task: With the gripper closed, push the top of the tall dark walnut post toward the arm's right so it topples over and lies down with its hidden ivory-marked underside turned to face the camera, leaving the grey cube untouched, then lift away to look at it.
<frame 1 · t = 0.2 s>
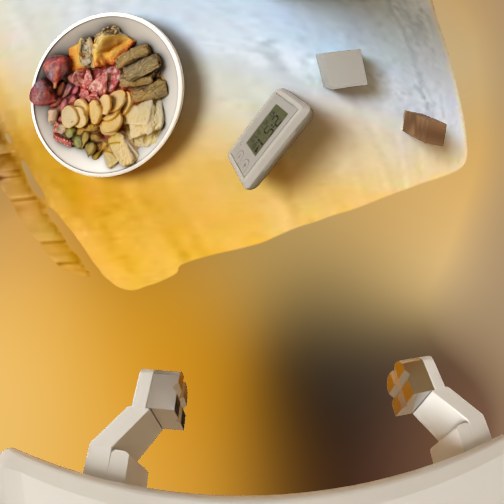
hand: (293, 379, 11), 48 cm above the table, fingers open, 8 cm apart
walnut post: (411, 121, 49), on the table
digital clock: (264, 129, 51), on the table
bowl: (108, 92, 46), on the table
grey cube: (336, 68, 44), on the table
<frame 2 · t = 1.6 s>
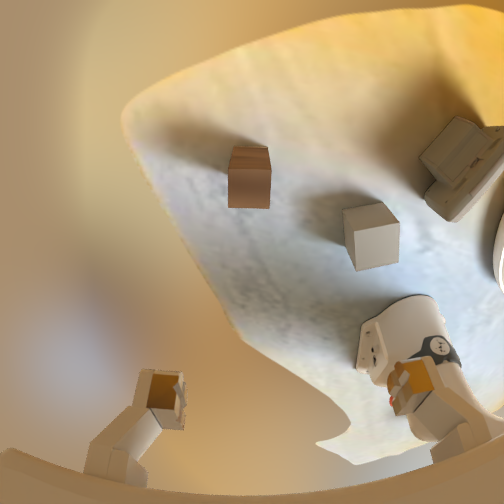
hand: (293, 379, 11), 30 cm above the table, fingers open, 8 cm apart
walnut post: (250, 162, 36), on the table
digital clock: (451, 155, 35), on the table
grey cube: (363, 224, 41), on the table
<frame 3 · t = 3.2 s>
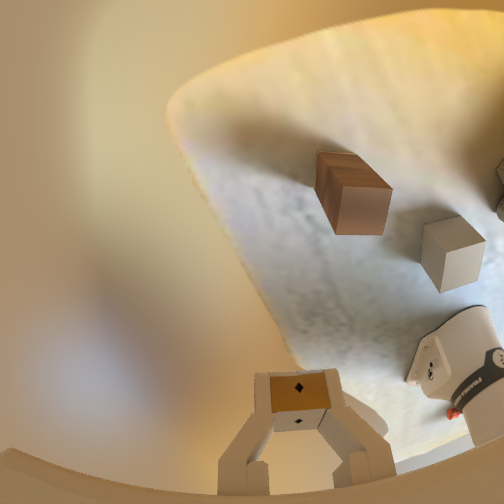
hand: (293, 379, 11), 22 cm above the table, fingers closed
walnut post: (334, 171, 29), on the table
grey cube: (440, 239, 34), on the table
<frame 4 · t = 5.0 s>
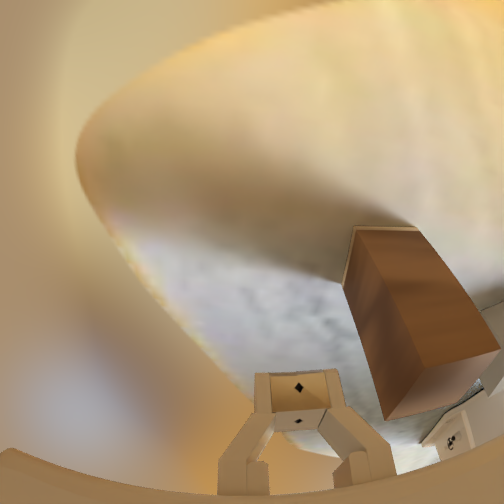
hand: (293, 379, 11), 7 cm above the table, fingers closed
walnut post: (379, 256, 17), on the table
grey cube: (495, 321, 22), on the table
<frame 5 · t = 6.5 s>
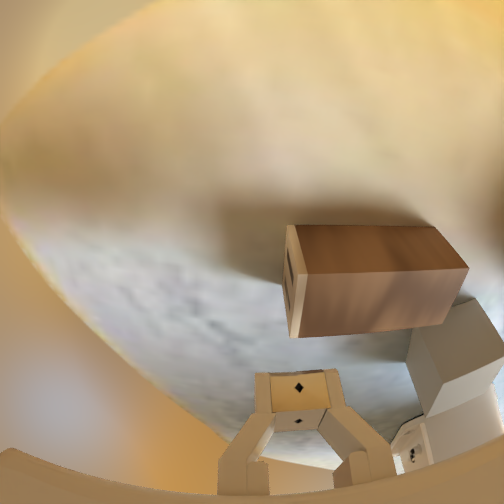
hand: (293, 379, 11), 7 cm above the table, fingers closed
walnut post: (288, 280, 15), point 2 cm above the table, tilted 90°
grey cube: (439, 332, 22), on the table
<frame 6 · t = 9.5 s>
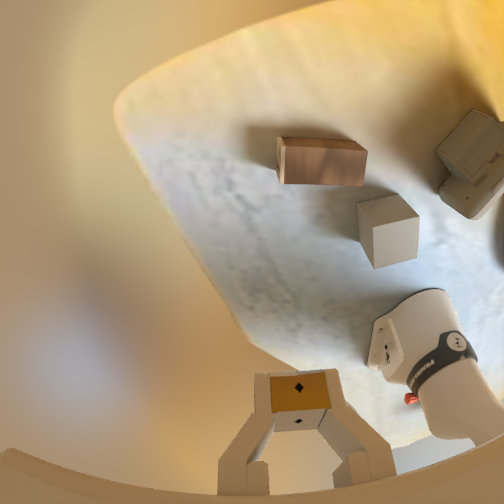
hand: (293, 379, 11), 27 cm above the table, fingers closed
walnut post: (278, 159, 31), point 2 cm above the table, tilted 90°
digital clock: (466, 149, 32), on the table
grey cube: (378, 218, 38), on the table
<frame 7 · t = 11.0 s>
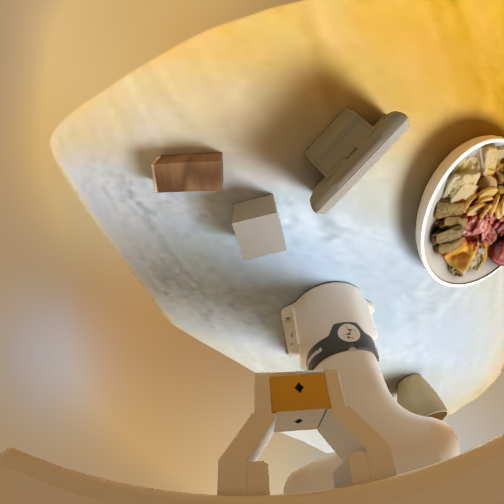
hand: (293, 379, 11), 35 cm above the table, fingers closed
plant pot: (409, 379, 77), on the table
walnut post: (156, 173, 40), point 2 cm above the table, tilted 90°
digital clock: (345, 147, 41), on the table
bowl: (472, 206, 46), on the table
grey cube: (258, 216, 46), on the table
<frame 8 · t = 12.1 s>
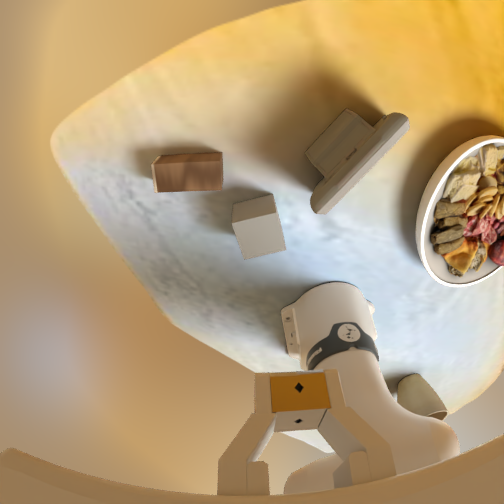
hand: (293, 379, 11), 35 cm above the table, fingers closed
plant pot: (409, 379, 77), on the table
walnut post: (156, 173, 40), point 2 cm above the table, tilted 90°
digital clock: (345, 148, 41), on the table
bowl: (472, 206, 46), on the table
grey cube: (258, 216, 46), on the table
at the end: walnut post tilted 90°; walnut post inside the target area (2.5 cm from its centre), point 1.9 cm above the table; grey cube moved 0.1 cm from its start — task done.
